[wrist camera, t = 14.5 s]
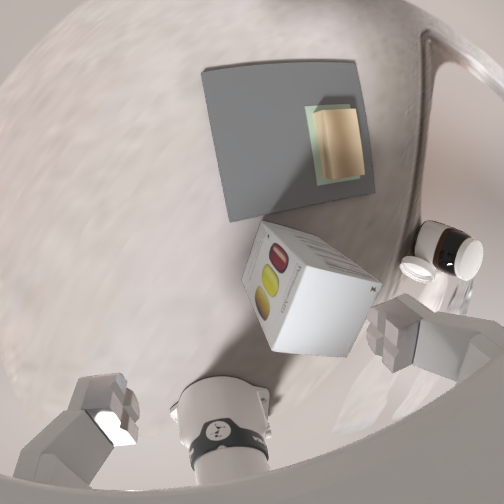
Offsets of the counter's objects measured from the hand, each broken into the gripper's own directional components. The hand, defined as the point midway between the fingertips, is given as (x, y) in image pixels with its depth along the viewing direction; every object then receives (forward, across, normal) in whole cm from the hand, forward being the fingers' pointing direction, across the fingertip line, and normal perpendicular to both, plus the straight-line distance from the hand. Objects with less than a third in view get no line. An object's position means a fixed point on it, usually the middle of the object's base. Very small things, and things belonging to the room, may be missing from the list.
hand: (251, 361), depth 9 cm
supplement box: (+31, +9, -10) cm, 34 cm away
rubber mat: (+31, +14, +7) cm, 35 cm away
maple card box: (+30, +19, +5) cm, 36 cm away
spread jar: (+31, +36, -15) cm, 50 cm away
